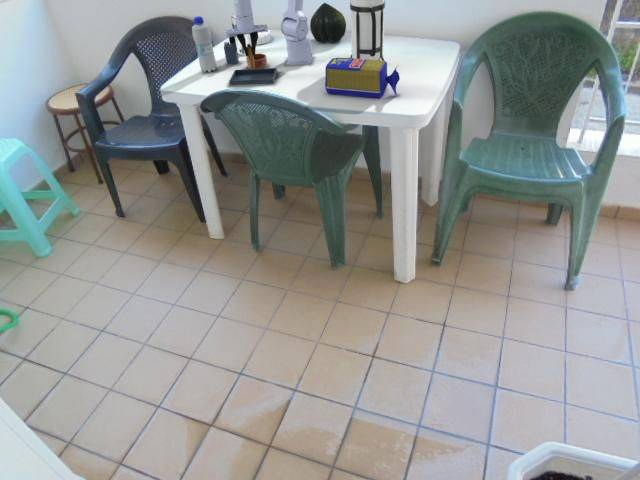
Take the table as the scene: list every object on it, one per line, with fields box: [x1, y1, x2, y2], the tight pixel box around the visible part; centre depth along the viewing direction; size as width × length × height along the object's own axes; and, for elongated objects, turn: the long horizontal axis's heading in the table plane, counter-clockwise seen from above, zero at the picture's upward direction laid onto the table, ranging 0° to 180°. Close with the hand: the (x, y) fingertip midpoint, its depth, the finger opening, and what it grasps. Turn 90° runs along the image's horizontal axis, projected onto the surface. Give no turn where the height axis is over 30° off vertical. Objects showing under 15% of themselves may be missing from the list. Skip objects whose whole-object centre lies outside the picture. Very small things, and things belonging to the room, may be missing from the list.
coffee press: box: [349, 0, 386, 61], centre depth 176 cm, size 17×16×30 cm
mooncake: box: [250, 29, 272, 46], centre depth 212 cm, size 12×12×4 cm
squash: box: [309, 2, 347, 43], centre depth 204 cm, size 14×15×15 cm
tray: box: [229, 67, 278, 86], centre depth 179 cm, size 16×10×2 cm, turn 86°
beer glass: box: [230, 12, 252, 56], centre depth 197 cm, size 7×7×15 cm
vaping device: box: [223, 36, 240, 65], centre depth 189 cm, size 3×5×12 cm, turn 78°
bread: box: [324, 57, 401, 99], centre depth 162 cm, size 10×25×10 cm, turn 70°
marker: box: [246, 44, 255, 69], centre depth 174 cm, size 2×2×8 cm
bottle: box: [191, 15, 218, 73], centre depth 183 cm, size 7×7×20 cm
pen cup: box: [246, 52, 269, 69], centre depth 187 cm, size 8×8×4 cm
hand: (250, 55), depth 174 cm, fingers closed on marker, 2 cm apart
